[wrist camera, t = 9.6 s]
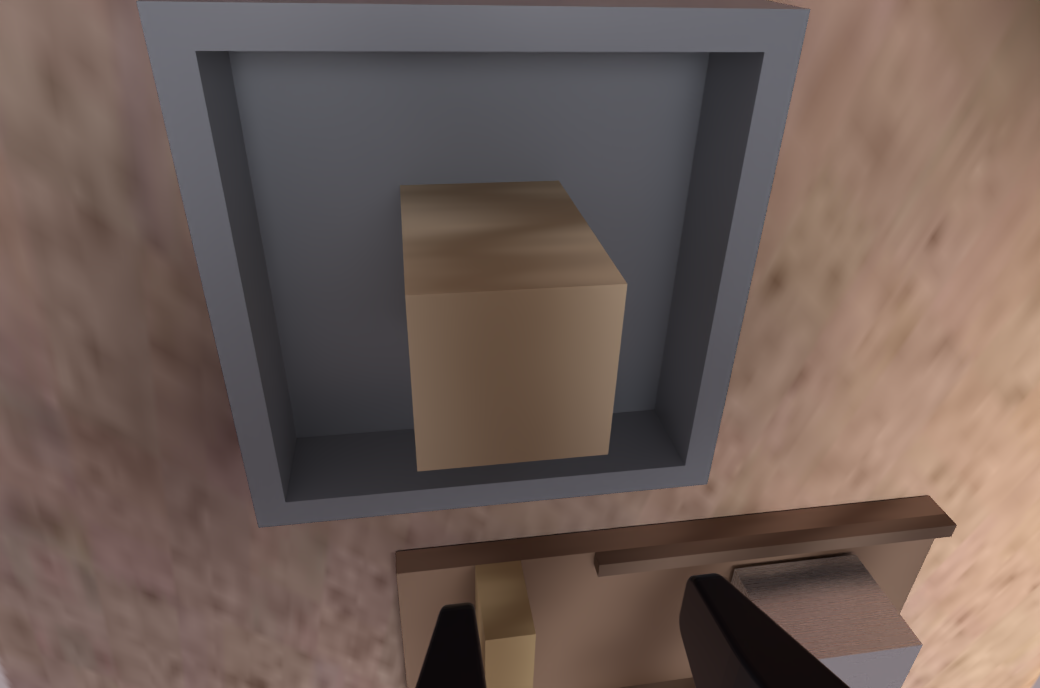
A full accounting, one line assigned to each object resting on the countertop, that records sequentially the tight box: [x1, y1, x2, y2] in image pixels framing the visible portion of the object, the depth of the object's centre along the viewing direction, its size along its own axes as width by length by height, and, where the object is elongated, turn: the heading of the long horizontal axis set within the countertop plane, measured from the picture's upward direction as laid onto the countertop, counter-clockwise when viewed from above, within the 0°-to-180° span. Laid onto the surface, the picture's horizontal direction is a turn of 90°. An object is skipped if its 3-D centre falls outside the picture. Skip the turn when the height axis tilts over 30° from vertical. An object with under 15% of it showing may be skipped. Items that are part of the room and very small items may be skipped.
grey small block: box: [731, 555, 922, 688], centre depth 27 cm, size 5×6×4 cm
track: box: [396, 496, 957, 688], centre depth 27 cm, size 21×9×4 cm, turn 89°
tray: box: [136, 0, 810, 528], centre depth 18 cm, size 13×13×4 cm
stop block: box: [400, 181, 627, 471], centre depth 16 cm, size 4×4×6 cm
